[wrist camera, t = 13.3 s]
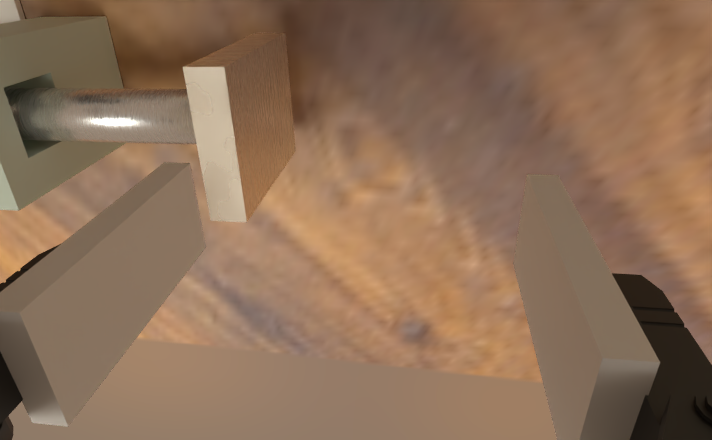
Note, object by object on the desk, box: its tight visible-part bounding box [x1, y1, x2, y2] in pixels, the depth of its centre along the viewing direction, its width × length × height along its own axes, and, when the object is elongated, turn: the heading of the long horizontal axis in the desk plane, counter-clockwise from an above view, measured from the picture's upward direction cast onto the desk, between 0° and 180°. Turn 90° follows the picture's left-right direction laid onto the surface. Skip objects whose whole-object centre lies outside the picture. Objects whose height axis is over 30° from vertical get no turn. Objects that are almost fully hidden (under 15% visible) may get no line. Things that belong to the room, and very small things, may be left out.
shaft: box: [4, 33, 296, 222], centre depth 23 cm, size 6×16×8 cm, turn 91°
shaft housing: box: [0, 16, 125, 210], centre depth 25 cm, size 7×4×10 cm, turn 1°
